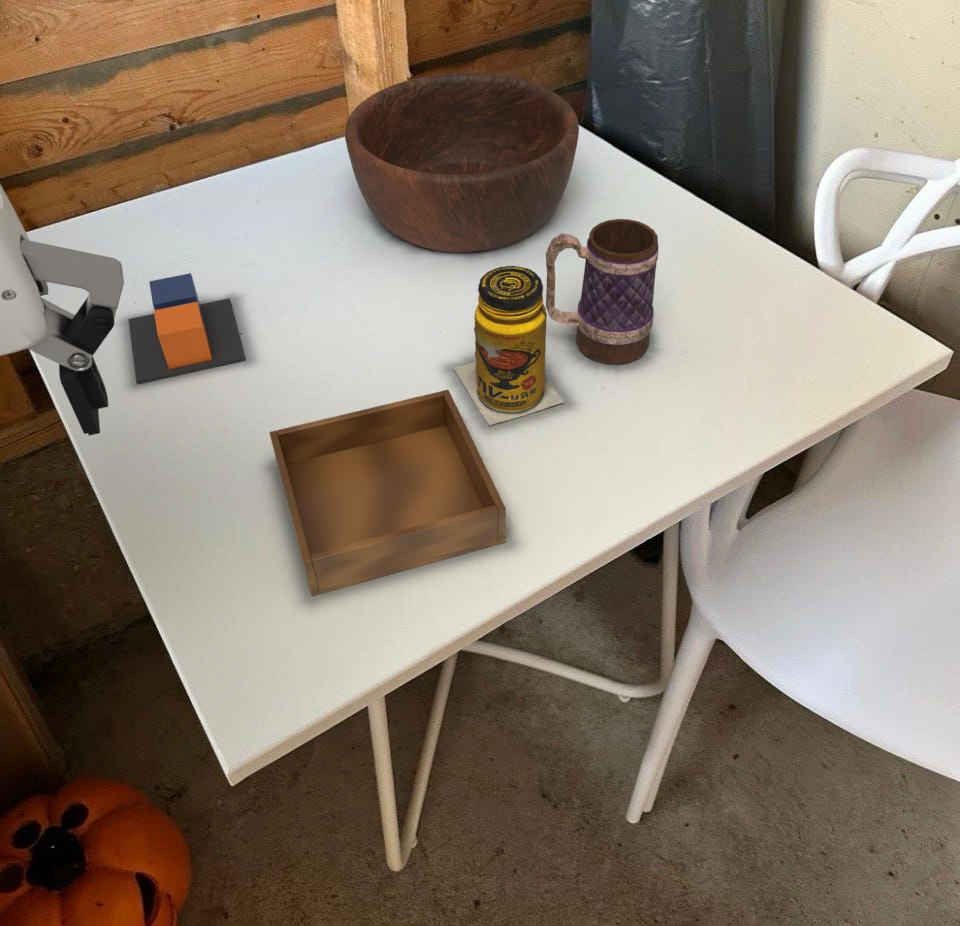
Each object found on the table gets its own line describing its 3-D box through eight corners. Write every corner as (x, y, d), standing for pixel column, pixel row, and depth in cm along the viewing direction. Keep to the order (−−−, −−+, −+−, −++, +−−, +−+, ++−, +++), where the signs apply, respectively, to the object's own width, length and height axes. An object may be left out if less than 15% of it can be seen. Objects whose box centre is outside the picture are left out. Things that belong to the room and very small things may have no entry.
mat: (137, 384, 85) (135, 380, 85) (129, 321, 92) (128, 318, 92) (245, 360, 87) (244, 357, 87) (230, 301, 94) (229, 297, 94)
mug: (644, 319, 91) (658, 210, 82) (654, 366, 86) (671, 255, 77) (540, 321, 91) (543, 212, 82) (544, 368, 86) (548, 257, 77)
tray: (311, 596, 68) (303, 562, 65) (277, 466, 78) (269, 431, 75) (505, 542, 71) (505, 508, 69) (450, 423, 81) (448, 389, 78)
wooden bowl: (581, 160, 113) (587, 76, 106) (563, 277, 96) (569, 186, 89) (382, 148, 116) (374, 66, 109) (330, 260, 99) (316, 171, 91)
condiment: (489, 427, 80) (487, 315, 72) (453, 369, 86) (447, 259, 77) (564, 404, 82) (572, 292, 74) (524, 349, 88) (527, 239, 79)
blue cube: (163, 338, 89) (152, 304, 87) (160, 314, 92) (149, 281, 89) (205, 329, 90) (195, 295, 87) (200, 306, 93) (191, 272, 90)
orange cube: (169, 369, 86) (157, 335, 83) (164, 344, 89) (153, 310, 86) (212, 360, 87) (202, 325, 84) (207, 335, 90) (197, 301, 87)
